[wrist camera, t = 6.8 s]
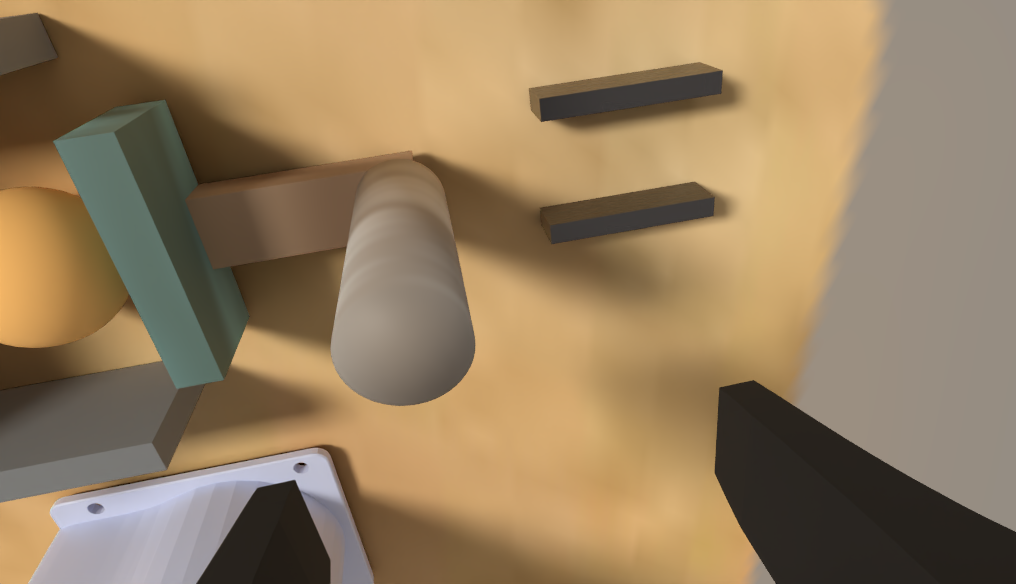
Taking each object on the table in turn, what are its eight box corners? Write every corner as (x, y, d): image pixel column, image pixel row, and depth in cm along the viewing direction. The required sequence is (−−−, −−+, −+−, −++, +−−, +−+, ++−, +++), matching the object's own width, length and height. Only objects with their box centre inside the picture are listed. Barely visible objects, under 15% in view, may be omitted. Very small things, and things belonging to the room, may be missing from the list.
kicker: (209, 323, 18) (92, 555, 11) (115, 106, 15) (-133, 241, 8) (459, 278, 19) (497, 471, 12) (421, 61, 16) (443, 150, 9)
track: (541, 225, 19) (551, 244, 18) (529, 88, 17) (539, 98, 16) (693, 199, 19) (713, 215, 18) (699, 62, 17) (722, 70, 16)
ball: (170, 333, 16) (148, 280, 18) (99, 187, 14) (88, 153, 16) (-18, 404, 14) (-8, 333, 17) (-130, 247, 12) (-98, 197, 15)
